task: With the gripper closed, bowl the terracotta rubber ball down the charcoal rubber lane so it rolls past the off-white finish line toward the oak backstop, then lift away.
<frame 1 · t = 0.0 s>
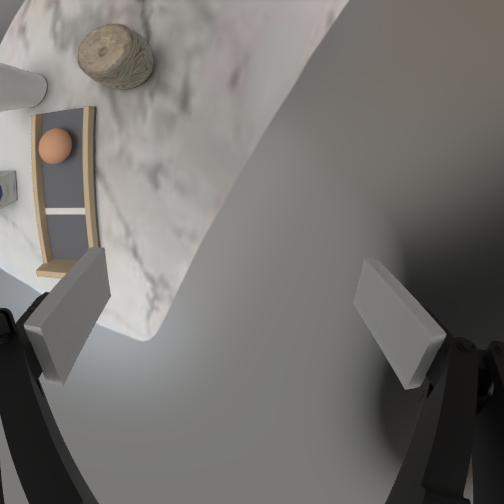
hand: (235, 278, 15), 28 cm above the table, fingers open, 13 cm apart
drinking glass: (35, 90, 32), on the table
ball: (63, 144, 35), point 1 cm above the table, touching lane
ink box: (0, 186, 37), on the table
lane: (67, 190, 39), on the table
carving: (134, 67, 33), on the table
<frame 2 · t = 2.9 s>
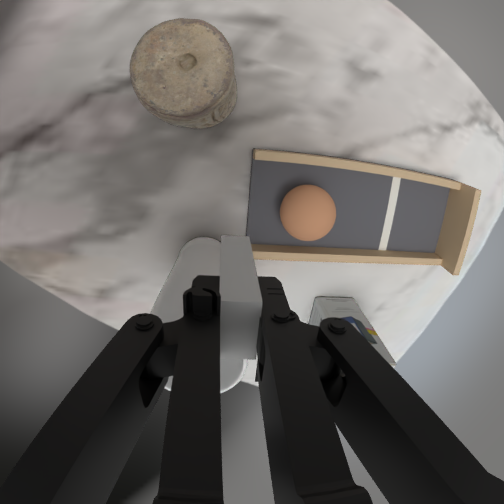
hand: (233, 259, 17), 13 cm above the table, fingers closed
drinking glass: (204, 258, 31), on the table
ball: (301, 205, 29), point 1 cm above the table, touching lane
ink box: (326, 325, 36), on the table
lane: (363, 209, 30), on the table
carving: (199, 90, 25), on the table
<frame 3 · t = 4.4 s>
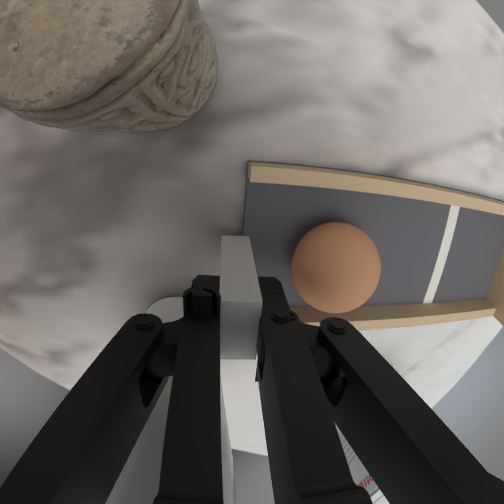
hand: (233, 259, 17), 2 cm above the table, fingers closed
drinking glass: (180, 323, 21), on the table
ball: (323, 249, 19), point 1 cm above the table, touching lane
ink box: (345, 392, 26), on the table
lane: (409, 250, 20), on the table
carving: (161, 69, 14), on the table
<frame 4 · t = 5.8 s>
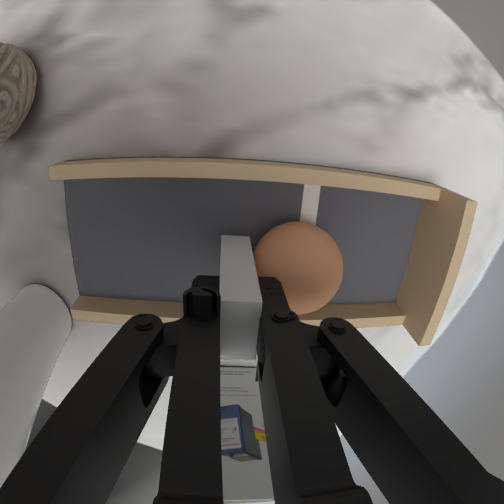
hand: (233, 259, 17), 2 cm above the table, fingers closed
drinking glass: (47, 309, 20), on the table
ball: (328, 288, 15), point 5 cm above the table, tilted 155°, touching lane
ink box: (226, 396, 25), on the table
lane: (254, 241, 19), on the table
carving: (11, 92, 13), on the table
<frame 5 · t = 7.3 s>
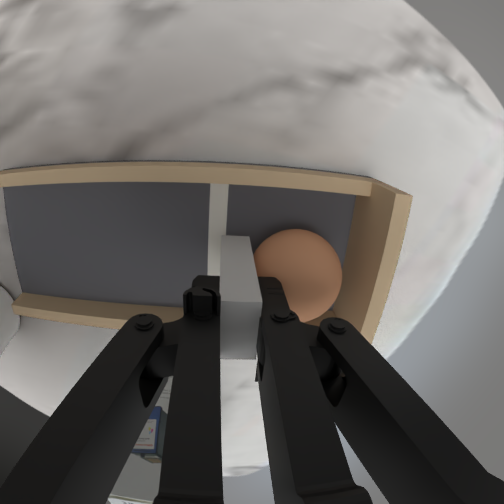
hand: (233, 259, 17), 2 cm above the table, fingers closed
drinking glass: (1, 304, 19), on the table
ball: (312, 260, 18), point 1 cm above the table, tilted 36°, touching gripper, lane
ink box: (165, 398, 24), on the table
lane: (167, 243, 18), on the table
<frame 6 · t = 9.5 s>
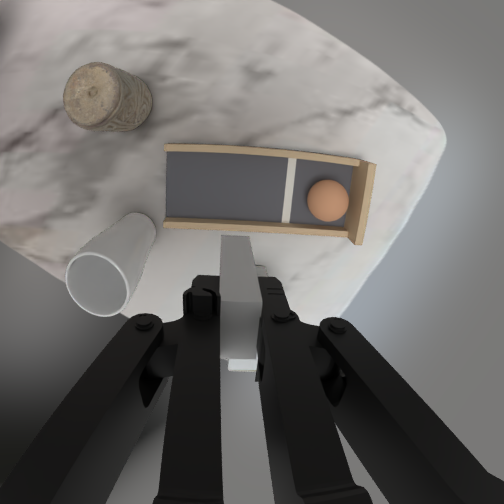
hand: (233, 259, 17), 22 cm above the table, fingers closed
drinking glass: (138, 230, 38), on the table
ball: (333, 197, 37), point 1 cm above the table, tilted 33°, touching lane
ink box: (244, 291, 43), on the table
lane: (264, 187, 37), on the table
carving: (129, 102, 32), on the table
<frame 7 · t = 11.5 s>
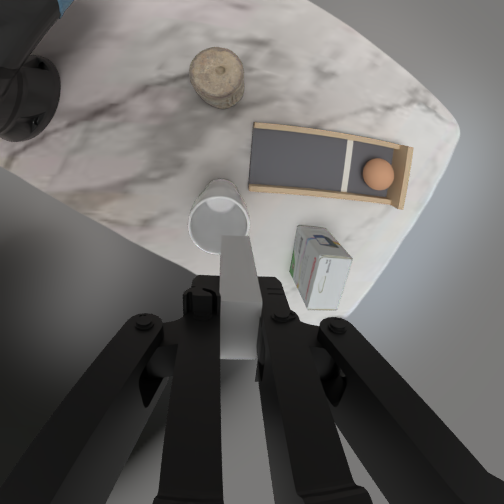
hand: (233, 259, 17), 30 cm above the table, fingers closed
drinking glass: (221, 195, 46), on the table
ball: (379, 172, 45), point 1 cm above the table, tilted 31°, touching lane
ink box: (307, 250, 51), on the table
lane: (328, 163, 45), on the table
carving: (220, 86, 40), on the table
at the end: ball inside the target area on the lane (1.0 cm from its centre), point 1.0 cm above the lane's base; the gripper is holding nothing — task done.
